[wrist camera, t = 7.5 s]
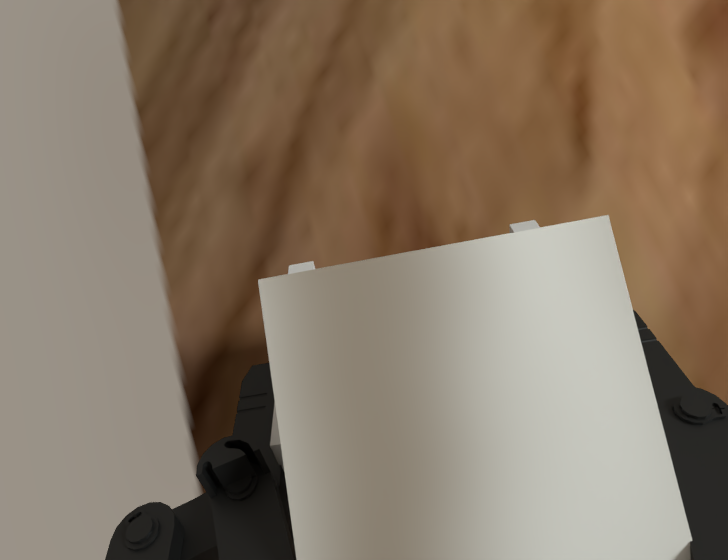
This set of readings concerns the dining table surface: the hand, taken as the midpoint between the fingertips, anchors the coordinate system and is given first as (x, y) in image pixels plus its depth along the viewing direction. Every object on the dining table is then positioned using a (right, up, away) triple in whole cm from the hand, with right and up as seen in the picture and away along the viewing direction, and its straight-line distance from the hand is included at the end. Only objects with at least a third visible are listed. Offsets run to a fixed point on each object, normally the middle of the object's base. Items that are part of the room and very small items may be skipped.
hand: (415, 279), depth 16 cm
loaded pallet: (+1, -4, +3) cm, 5 cm away
